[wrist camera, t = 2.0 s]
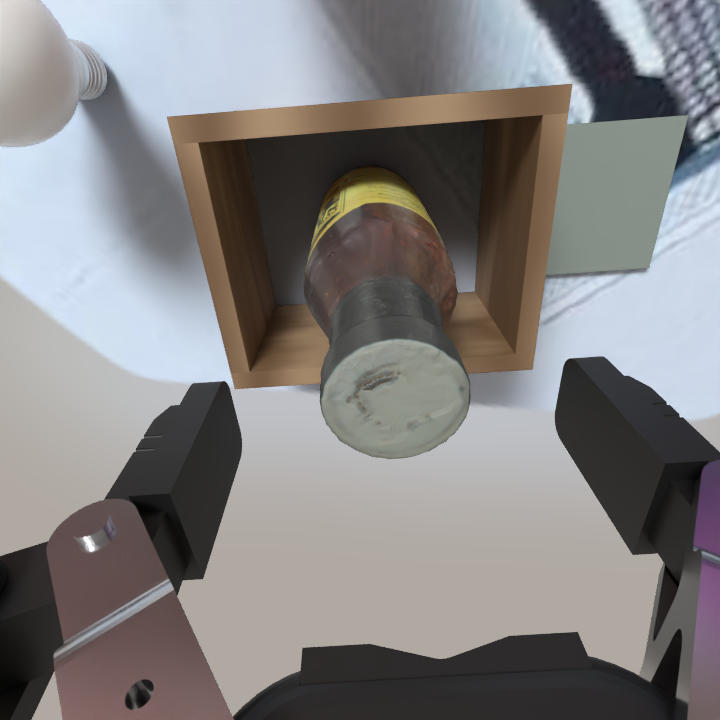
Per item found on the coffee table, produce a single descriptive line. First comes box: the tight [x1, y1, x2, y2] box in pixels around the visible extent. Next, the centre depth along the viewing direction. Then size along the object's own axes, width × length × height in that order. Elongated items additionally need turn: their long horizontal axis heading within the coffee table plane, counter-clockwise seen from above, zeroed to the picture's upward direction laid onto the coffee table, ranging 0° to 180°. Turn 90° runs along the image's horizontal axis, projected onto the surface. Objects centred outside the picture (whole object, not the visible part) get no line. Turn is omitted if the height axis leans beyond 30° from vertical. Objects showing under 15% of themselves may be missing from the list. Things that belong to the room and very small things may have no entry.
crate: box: [167, 84, 572, 389], centre depth 25 cm, size 16×13×9 cm
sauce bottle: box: [304, 166, 470, 459], centre depth 20 cm, size 7×6×20 cm
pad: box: [546, 115, 688, 275], centre depth 28 cm, size 9×9×1 cm
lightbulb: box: [0, 0, 107, 147], centre depth 20 cm, size 6×6×11 cm
